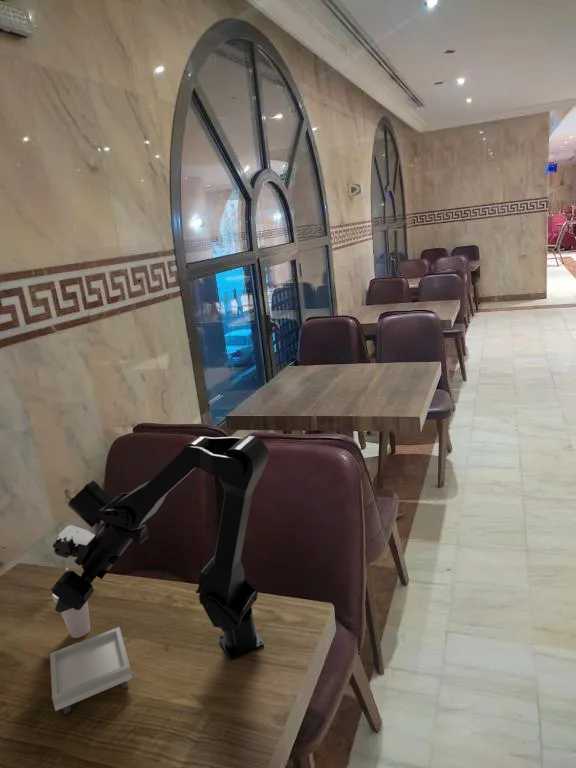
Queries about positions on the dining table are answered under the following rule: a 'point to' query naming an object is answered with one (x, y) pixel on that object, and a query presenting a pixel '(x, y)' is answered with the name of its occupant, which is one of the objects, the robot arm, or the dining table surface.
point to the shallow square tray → (88, 668)
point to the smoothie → (76, 619)
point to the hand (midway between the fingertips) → (69, 595)
